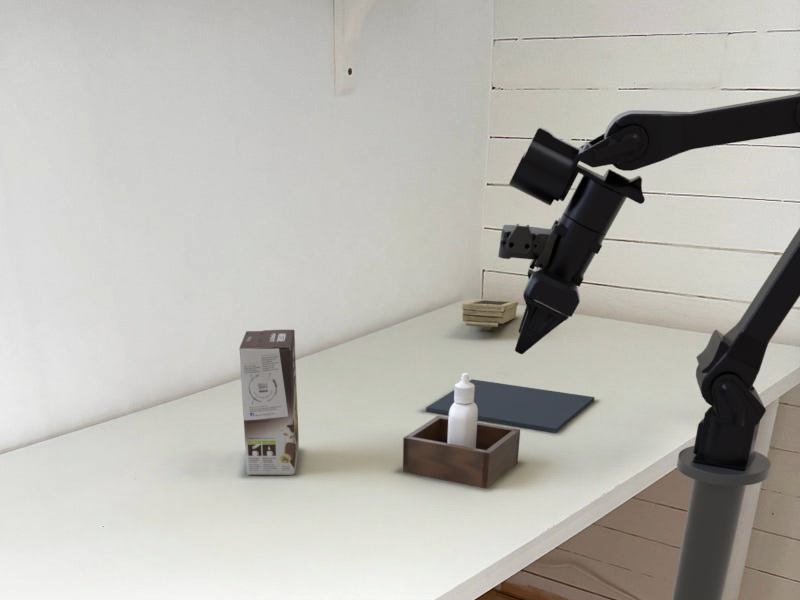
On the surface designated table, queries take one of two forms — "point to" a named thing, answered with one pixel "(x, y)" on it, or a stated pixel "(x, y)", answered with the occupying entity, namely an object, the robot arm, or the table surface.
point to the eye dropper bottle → (463, 415)
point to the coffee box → (269, 401)
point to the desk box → (461, 453)
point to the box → (488, 312)
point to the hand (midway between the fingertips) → (520, 342)
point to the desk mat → (520, 405)
